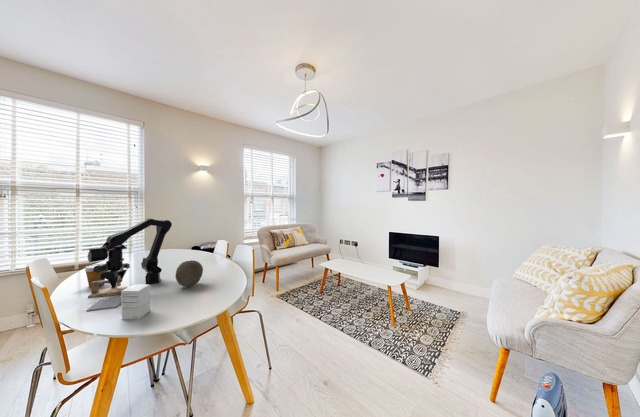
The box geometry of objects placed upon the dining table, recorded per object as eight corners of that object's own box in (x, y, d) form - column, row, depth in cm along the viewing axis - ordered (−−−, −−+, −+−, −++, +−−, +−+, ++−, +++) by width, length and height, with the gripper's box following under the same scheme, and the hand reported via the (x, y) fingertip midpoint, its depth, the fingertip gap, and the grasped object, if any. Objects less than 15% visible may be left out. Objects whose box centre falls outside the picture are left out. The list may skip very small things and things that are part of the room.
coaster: (126, 297, 115) (126, 296, 115) (116, 307, 105) (116, 306, 105) (99, 301, 111) (99, 299, 111) (86, 311, 101) (86, 310, 101)
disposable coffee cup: (111, 283, 133) (111, 264, 133) (91, 289, 124) (90, 268, 124) (101, 281, 136) (101, 262, 136) (81, 287, 127) (80, 267, 127)
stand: (88, 297, 115) (87, 284, 114) (96, 291, 122) (96, 279, 122) (120, 294, 120) (120, 281, 119) (127, 288, 127) (127, 276, 127)
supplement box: (133, 311, 102) (133, 284, 101) (150, 310, 103) (150, 284, 102) (120, 319, 95) (120, 290, 94) (139, 319, 95) (138, 290, 95)
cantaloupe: (204, 287, 130) (204, 262, 130) (176, 292, 123) (175, 265, 122) (201, 279, 142) (201, 256, 142) (175, 284, 134) (175, 260, 134)
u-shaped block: (120, 285, 125) (120, 275, 125) (116, 289, 120) (115, 278, 119) (116, 285, 124) (116, 276, 124) (111, 289, 119) (111, 279, 119)
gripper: (105, 255, 127) (106, 281, 128) (85, 264, 110) (86, 294, 110) (129, 253, 131) (130, 279, 132) (114, 262, 114) (114, 291, 114)
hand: (116, 285), depth 122 cm, fingers closed on u-shaped block, 5 cm apart
